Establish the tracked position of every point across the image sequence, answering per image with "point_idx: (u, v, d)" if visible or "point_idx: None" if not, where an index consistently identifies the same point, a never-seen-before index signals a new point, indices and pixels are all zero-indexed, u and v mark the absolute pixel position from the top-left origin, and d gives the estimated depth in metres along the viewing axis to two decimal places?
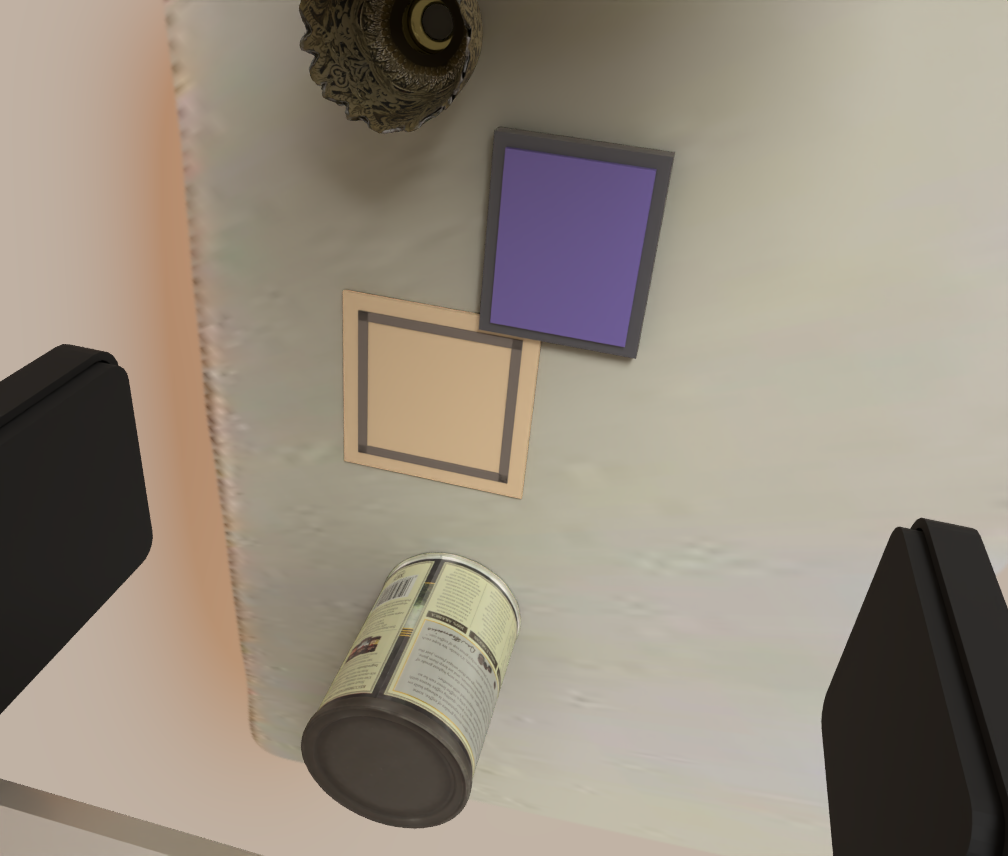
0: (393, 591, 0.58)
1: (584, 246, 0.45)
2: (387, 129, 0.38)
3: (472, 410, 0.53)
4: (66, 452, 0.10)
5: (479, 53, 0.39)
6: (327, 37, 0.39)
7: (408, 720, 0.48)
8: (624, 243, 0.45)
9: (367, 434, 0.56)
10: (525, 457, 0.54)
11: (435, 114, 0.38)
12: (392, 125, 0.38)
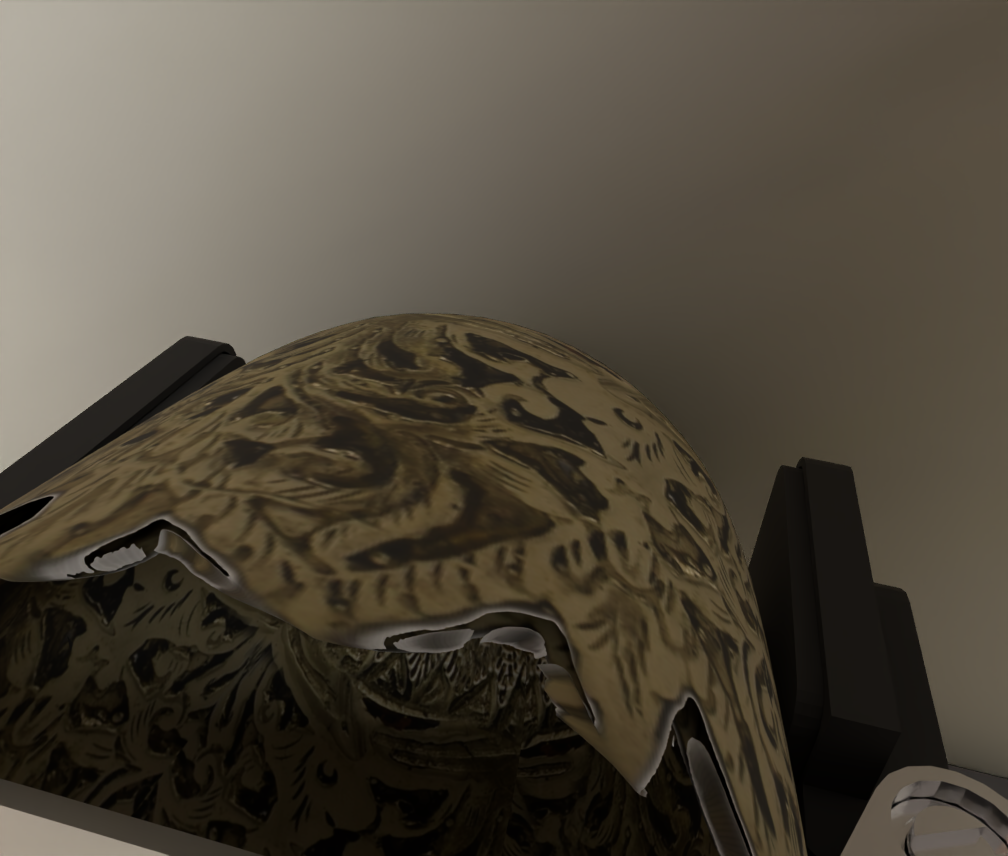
0: None
1: None
2: None
3: None
4: None
5: None
6: (50, 704, 0.08)
7: None
8: None
9: None
10: None
11: None
12: None
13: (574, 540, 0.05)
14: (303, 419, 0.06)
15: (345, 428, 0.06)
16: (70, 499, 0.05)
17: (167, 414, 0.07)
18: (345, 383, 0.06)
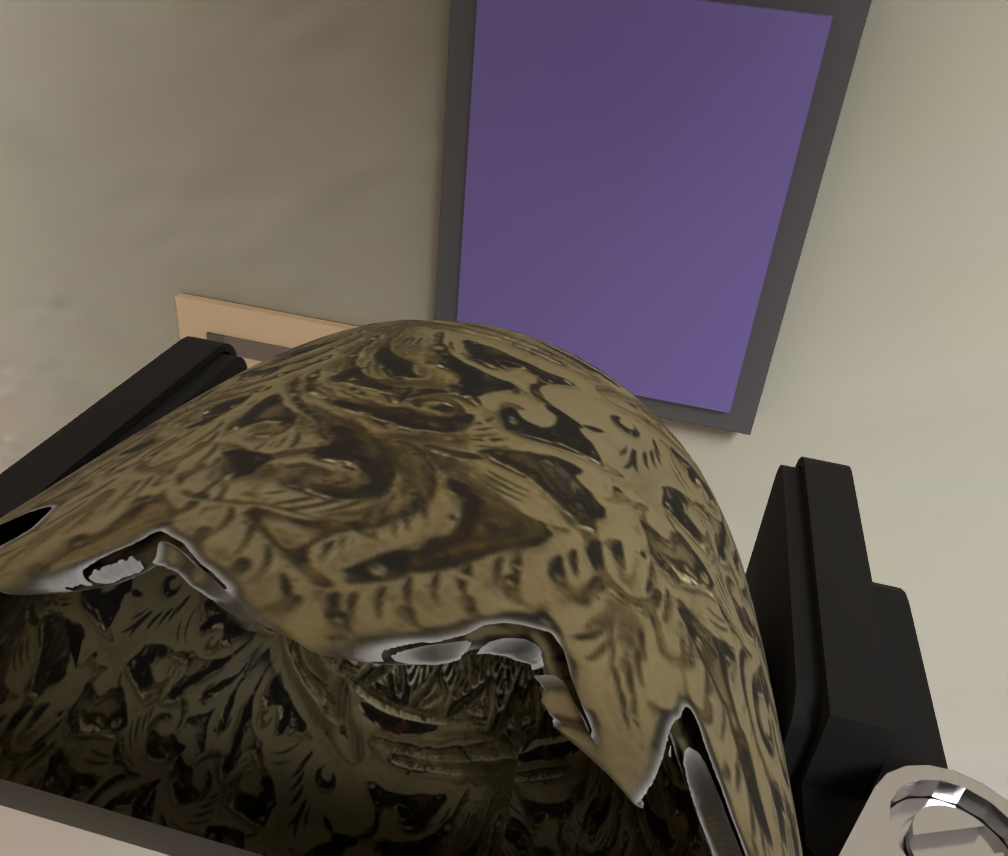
0: None
1: (653, 202, 0.21)
2: None
3: None
4: None
5: None
6: (48, 710, 0.08)
7: None
8: (743, 194, 0.20)
9: None
10: None
11: None
12: None
13: (571, 550, 0.05)
14: (301, 429, 0.06)
15: (342, 438, 0.06)
16: (68, 510, 0.05)
17: (165, 423, 0.07)
18: (341, 393, 0.06)
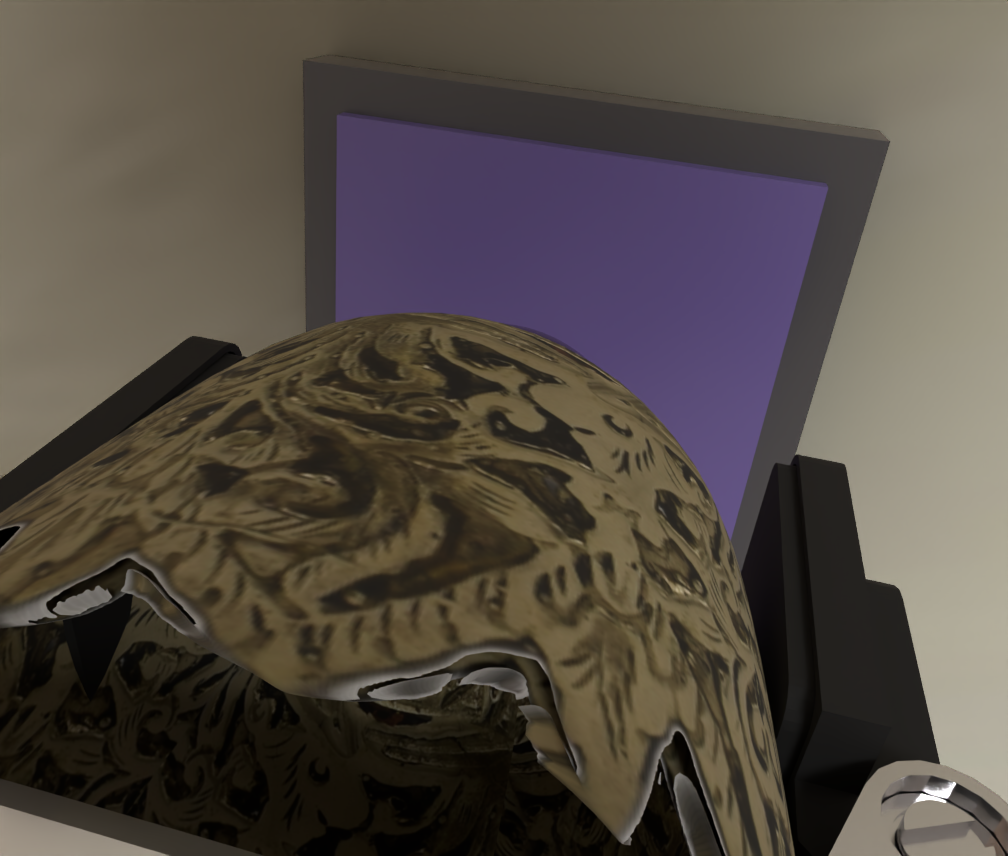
0: None
1: None
2: None
3: None
4: None
5: None
6: (35, 712, 0.08)
7: None
8: (706, 409, 0.15)
9: None
10: None
11: None
12: None
13: (559, 566, 0.05)
14: (279, 439, 0.06)
15: (322, 449, 0.05)
16: (36, 531, 0.05)
17: (142, 429, 0.06)
18: (322, 398, 0.06)
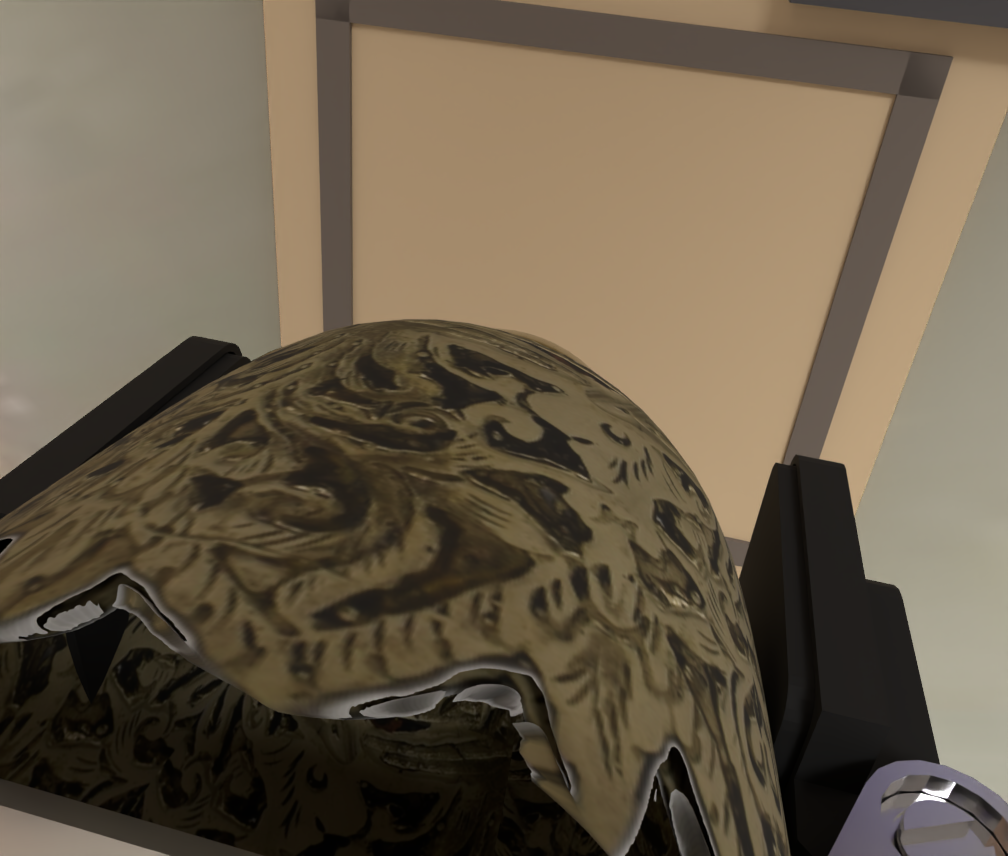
0: None
1: None
2: None
3: (701, 346, 0.16)
4: None
5: None
6: (31, 720, 0.08)
7: None
8: None
9: None
10: (857, 498, 0.17)
11: None
12: None
13: (555, 580, 0.05)
14: (274, 451, 0.06)
15: (317, 461, 0.05)
16: (28, 544, 0.05)
17: (137, 439, 0.06)
18: (318, 407, 0.06)
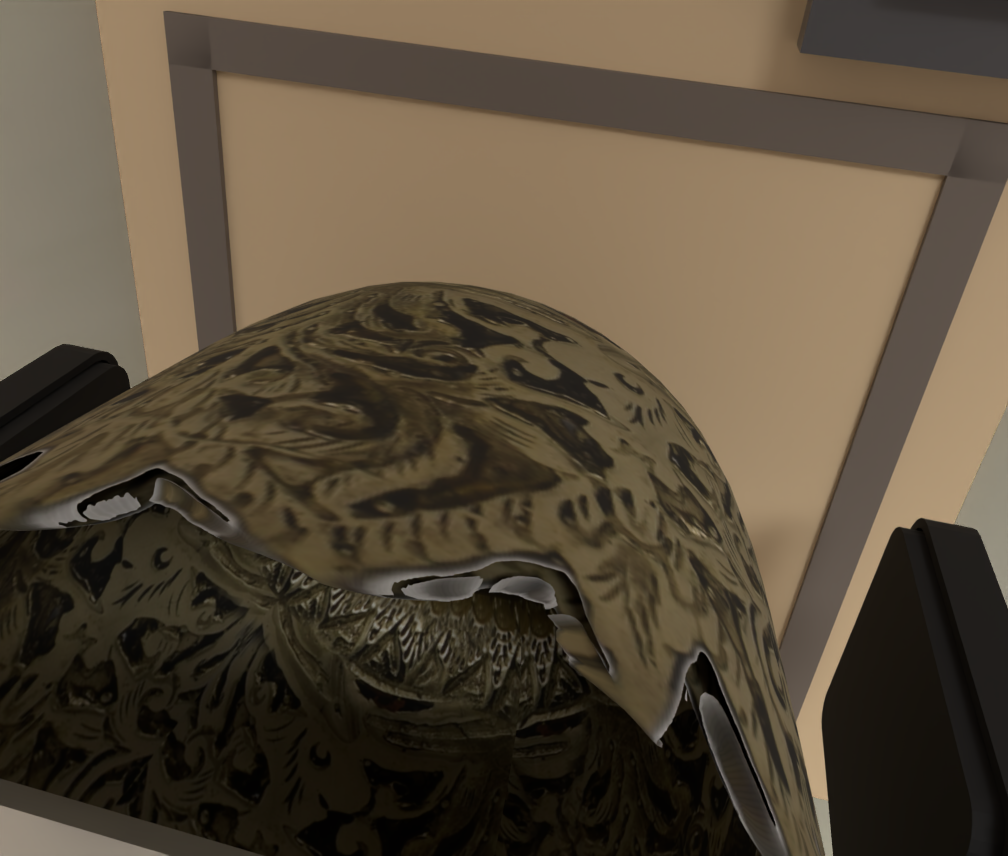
0: None
1: None
2: None
3: None
4: None
5: None
6: (37, 682, 0.08)
7: None
8: None
9: None
10: None
11: None
12: None
13: (581, 496, 0.05)
14: (300, 376, 0.06)
15: (344, 384, 0.05)
16: (60, 453, 0.05)
17: (158, 376, 0.06)
18: (341, 343, 0.06)
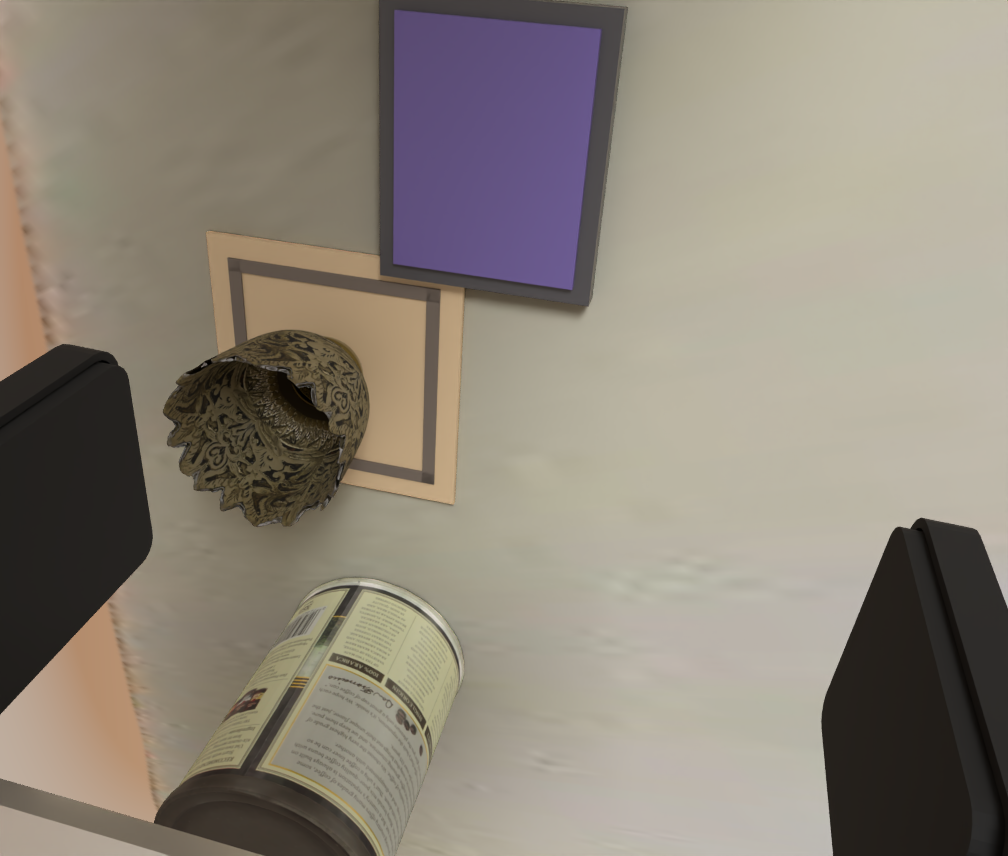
0: (294, 628, 0.45)
1: (509, 148, 0.33)
2: (263, 522, 0.36)
3: (383, 388, 0.41)
4: (66, 452, 0.10)
5: (364, 431, 0.37)
6: (202, 419, 0.36)
7: (285, 807, 0.35)
8: (563, 140, 0.33)
9: None
10: (454, 449, 0.41)
11: (313, 507, 0.36)
12: (270, 515, 0.36)
13: (299, 363, 0.33)
14: (257, 345, 0.34)
15: (263, 346, 0.34)
16: (220, 355, 0.33)
17: None
18: (265, 341, 0.35)
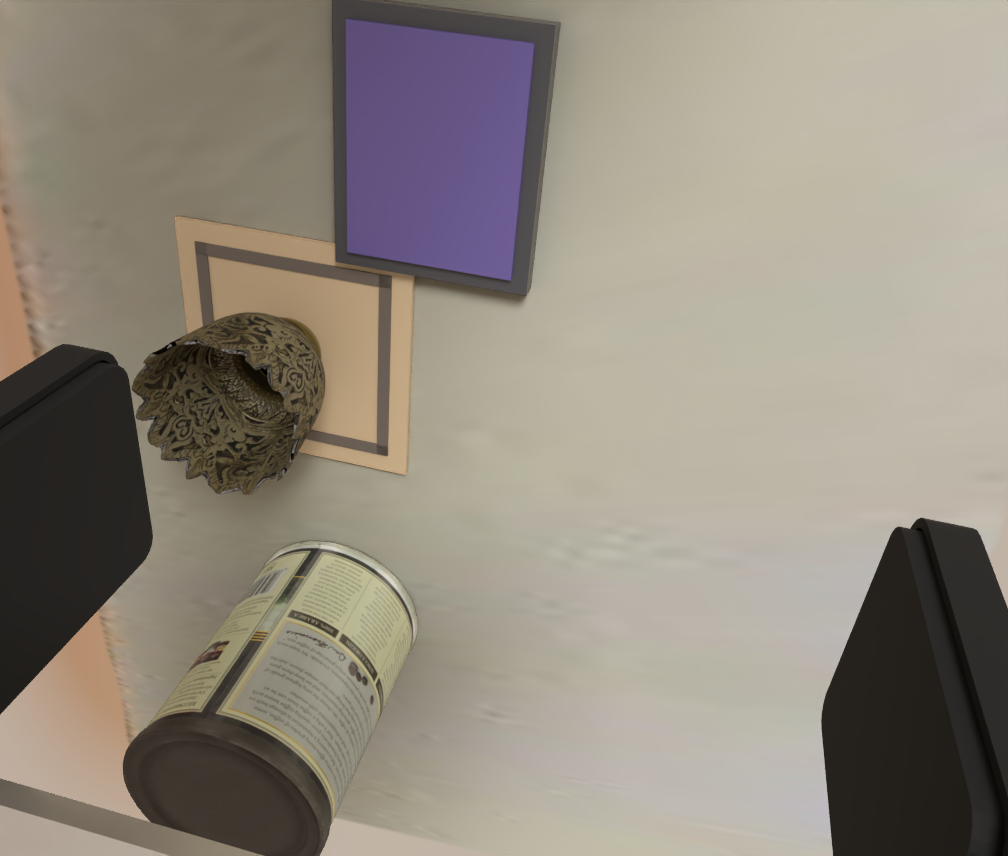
0: (257, 586, 0.48)
1: (452, 149, 0.36)
2: (225, 490, 0.39)
3: (340, 366, 0.44)
4: (66, 452, 0.10)
5: (319, 407, 0.40)
6: (169, 394, 0.39)
7: (241, 746, 0.38)
8: (500, 144, 0.35)
9: None
10: (406, 424, 0.44)
11: (272, 477, 0.39)
12: (232, 483, 0.39)
13: (257, 346, 0.36)
14: (218, 329, 0.37)
15: (224, 330, 0.37)
16: (184, 338, 0.36)
17: (196, 329, 0.38)
18: (226, 324, 0.37)
